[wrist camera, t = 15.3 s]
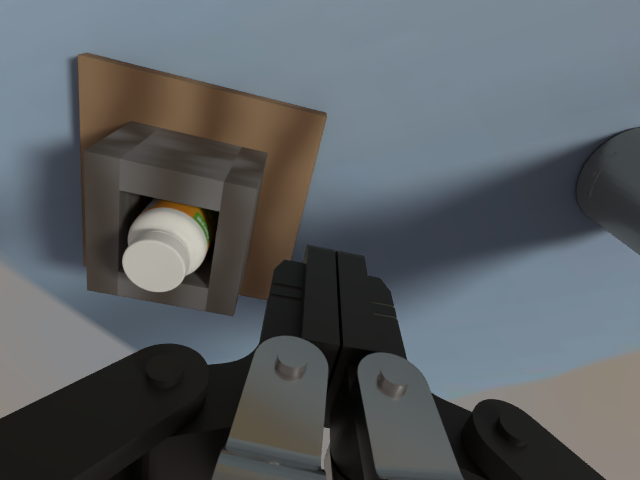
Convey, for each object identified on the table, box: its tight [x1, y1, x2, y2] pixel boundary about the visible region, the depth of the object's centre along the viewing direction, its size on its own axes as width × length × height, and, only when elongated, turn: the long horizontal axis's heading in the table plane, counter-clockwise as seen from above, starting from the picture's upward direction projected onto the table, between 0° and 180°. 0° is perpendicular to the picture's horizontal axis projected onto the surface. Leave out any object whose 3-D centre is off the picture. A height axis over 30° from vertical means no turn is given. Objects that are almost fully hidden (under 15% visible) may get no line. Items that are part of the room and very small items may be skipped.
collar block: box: [78, 53, 327, 316], centre depth 33 cm, size 19×19×10 cm
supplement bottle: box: [122, 198, 219, 292], centre depth 31 cm, size 5×5×10 cm
